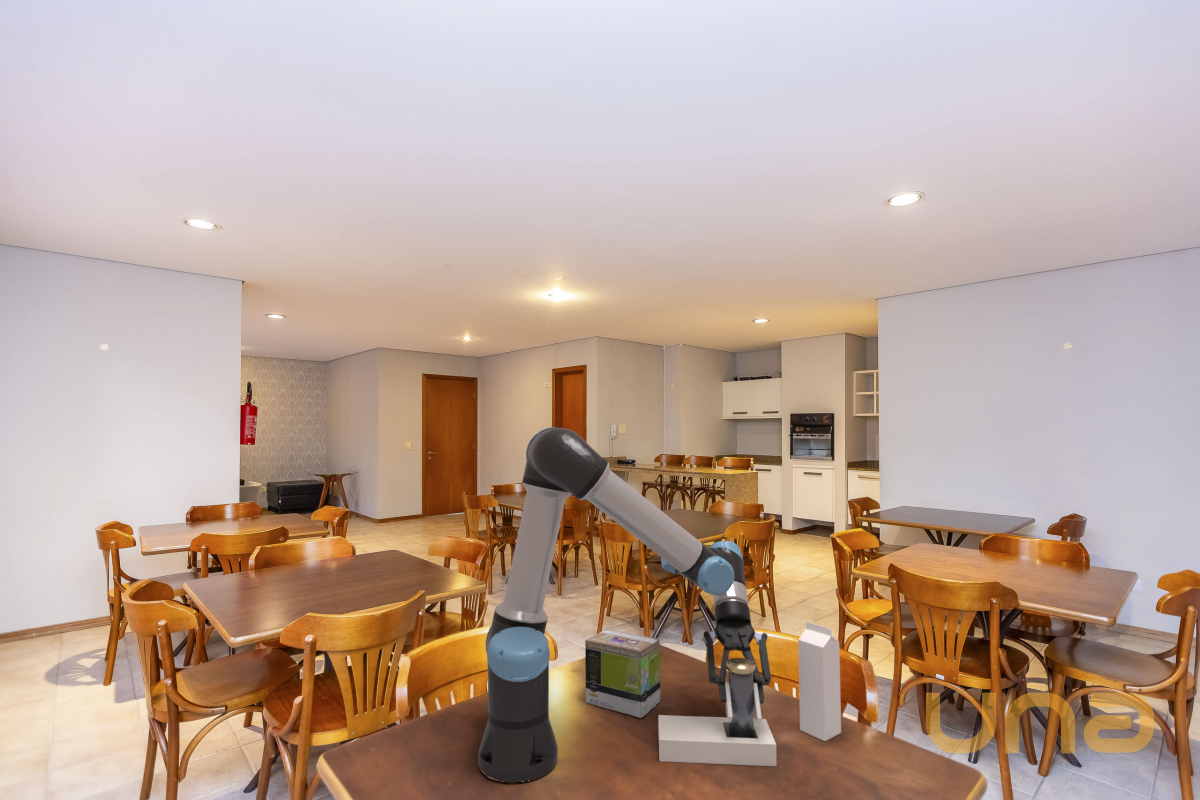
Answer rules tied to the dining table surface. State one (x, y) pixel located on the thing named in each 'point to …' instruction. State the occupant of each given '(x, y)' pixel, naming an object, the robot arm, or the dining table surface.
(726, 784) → the dining table surface
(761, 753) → the housing block
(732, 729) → the grey capped cylinder
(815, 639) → the milk
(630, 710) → the tea box
